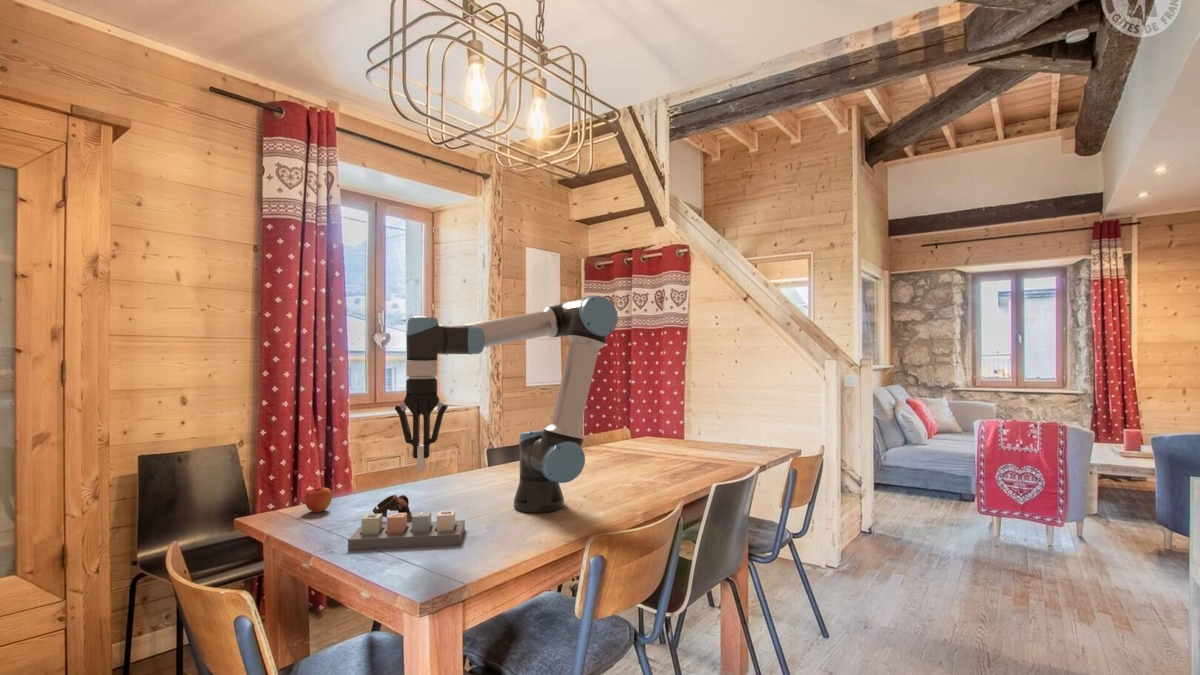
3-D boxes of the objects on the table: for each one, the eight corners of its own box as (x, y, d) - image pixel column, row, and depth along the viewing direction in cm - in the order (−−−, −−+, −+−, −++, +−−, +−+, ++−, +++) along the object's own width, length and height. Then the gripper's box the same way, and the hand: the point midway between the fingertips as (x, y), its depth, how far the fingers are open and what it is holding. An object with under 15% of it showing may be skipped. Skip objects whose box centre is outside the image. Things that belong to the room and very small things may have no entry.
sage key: (382, 529, 145) (382, 512, 146) (378, 534, 142) (378, 517, 142) (366, 530, 145) (366, 513, 145) (361, 535, 141) (361, 518, 141)
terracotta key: (407, 528, 146) (407, 511, 146) (403, 533, 142) (403, 516, 142) (390, 529, 146) (390, 512, 146) (386, 534, 142) (386, 516, 142)
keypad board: (464, 529, 152) (464, 520, 152) (459, 544, 140) (459, 534, 140) (362, 534, 149) (362, 524, 149) (347, 550, 137) (348, 539, 137)
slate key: (431, 527, 147) (431, 510, 147) (428, 532, 143) (428, 515, 143) (415, 528, 146) (415, 511, 147) (412, 532, 143) (412, 515, 143)
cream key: (455, 526, 148) (455, 509, 148) (453, 531, 144) (453, 514, 144) (439, 527, 147) (439, 510, 147) (436, 531, 143) (436, 514, 143)
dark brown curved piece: (407, 528, 155) (391, 503, 154) (379, 542, 157) (362, 517, 155) (423, 505, 167) (408, 482, 165) (397, 518, 168) (381, 495, 167)
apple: (337, 508, 173) (337, 482, 173) (321, 515, 166) (321, 487, 166) (315, 507, 174) (315, 481, 174) (298, 514, 167) (298, 487, 167)
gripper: (450, 376, 150) (449, 467, 150) (398, 377, 149) (397, 468, 148) (446, 378, 143) (445, 473, 142) (391, 378, 141) (390, 474, 140)
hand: (421, 470), depth 145 cm, fingers closed
